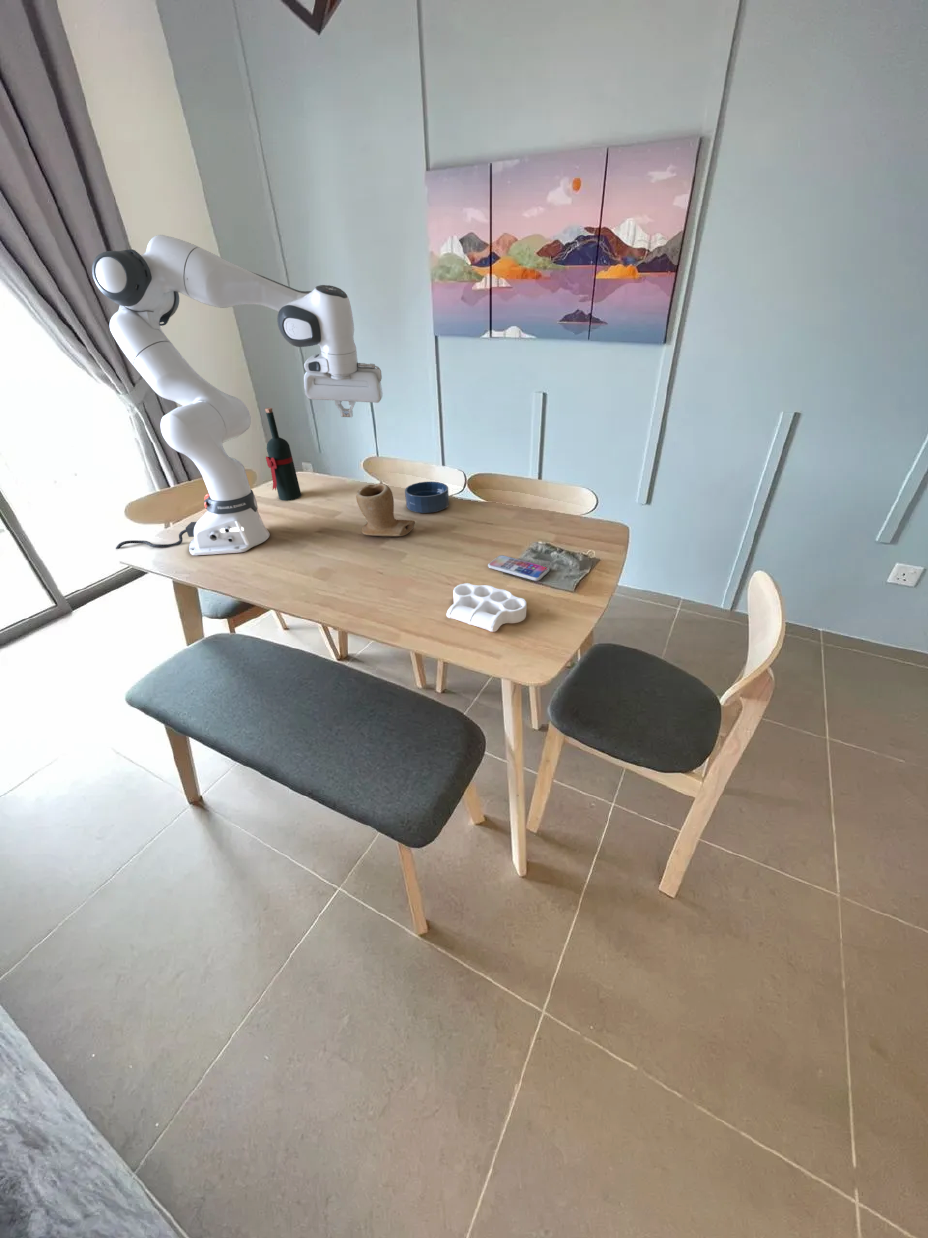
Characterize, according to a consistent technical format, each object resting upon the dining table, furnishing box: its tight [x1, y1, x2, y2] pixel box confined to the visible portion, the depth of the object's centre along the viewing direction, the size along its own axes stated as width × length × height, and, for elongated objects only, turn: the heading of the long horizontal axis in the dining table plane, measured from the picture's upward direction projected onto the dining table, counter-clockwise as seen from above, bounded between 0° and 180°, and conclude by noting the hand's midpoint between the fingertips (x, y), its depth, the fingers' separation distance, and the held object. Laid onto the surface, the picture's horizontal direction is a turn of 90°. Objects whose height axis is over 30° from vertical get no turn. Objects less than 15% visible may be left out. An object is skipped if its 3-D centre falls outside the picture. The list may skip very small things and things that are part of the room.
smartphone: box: [487, 554, 550, 582], centre depth 127 cm, size 7×1×15 cm
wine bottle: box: [264, 407, 302, 502], centre depth 168 cm, size 8×10×30 cm
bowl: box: [404, 481, 450, 514], centre depth 164 cm, size 14×14×6 cm
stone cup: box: [355, 482, 416, 537], centre depth 144 cm, size 15×12×15 cm
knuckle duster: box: [445, 582, 528, 633], centre depth 111 cm, size 3×18×15 cm
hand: (347, 416), depth 135 cm, fingers closed
